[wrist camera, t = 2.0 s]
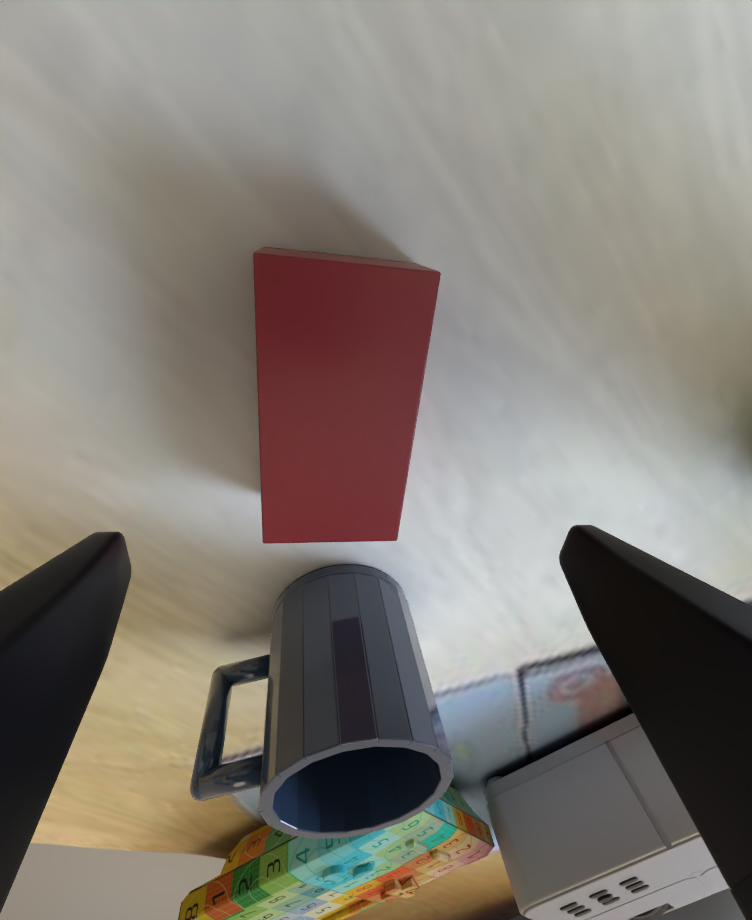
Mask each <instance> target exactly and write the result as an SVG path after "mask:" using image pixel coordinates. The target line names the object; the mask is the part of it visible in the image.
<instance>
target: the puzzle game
mask: <svg viewBox="0 0 752 920" xmlns="http://www.w3.org/2000/svg"><path fill="white" fill-rule="evenodd" d="M494 846H495V845H494V842H493V839H492V836H491V833H490V829H489V826H488V825H487V824H486V823H485V822H484V821H483V820H482V819H481V818H480V817H479V816H478V815H477V814H476V813H475V812H474V811H473V810H472V809H471V808H470V806H469V805H468V804H467V803H466V802H465V800H464V799H463V798H462V797H461V795H460V794H459V793H458V792H457V791H456V789H454V788H453V787H451V786H449V787H448V789H447V791H446V792H445V793H444V795H443V796H441V797H440V798H439V799H438V800H437V801H436V802H435V803H433V804H432V805H431V806H430V807H429V808H428V809H426V810H424V811H423V812H421V813H419V814H417V815H415V816H413V817H412V818H410V819H408V820H406V821H404V822H402V823H399V824H396V825H393V826H391V827H388V828H385V829H382V830H379V831H376V832H375V831H374V832H372V833H367V834H362V835H357V836H351V837H344V838H326V839H312V838H305V837H299V836H292V835H289V834H285V833H283V832H281V831H279V830H277V829H275V828H273V827H271V826H269V825H268V824H266V825H264V826H262V827H260V828H259V829H257V830H255V831H253V832H251V833H249V834H247V835H246V836H244V837H243V838H242V839H241V840H240V842H239V843H238V844H237V845H236V847H235V848H234V849H233V850H232V851H231V853H230V854H229V855H228V857H227V860H226V862H225V865H224V867H223V870H222V872H221V874H220V875H219V876H217V877H215V878H214V879H212V880H210V881H208V882H207V883H205V884H203V885H201V886H199V887H198V888H196V889H194V890H192V891H191V892H190V893H189V894H188V895H187V896H186V898H185V899H184V900H183V901H182V903H181V907H180V913H179V918H178V920H343V919H345V918H348V917H350V916H352V915H354V914H357V913H359V912H361V911H363V910H366V909H368V908H370V907H373V906H375V905H377V904H379V903H382V902H384V901H386V902H390V901H392V900H394V899H396V898H398V897H399V898H402V899H407V898H409V897H412V896H414V895H415V890H416V889H418V888H419V886H420V885H422V884H425V883H427V882H429V881H431V880H434V879H436V878H438V877H440V876H443V875H445V874H447V873H449V872H452V871H454V870H456V869H458V868H461V867H463V866H465V865H467V864H470V863H472V862H474V861H476V860H479V859H481V858H483V857H486V856H487V855H488V854H489V852H490V851H491V850H492V849H493V847H494Z"/></svg>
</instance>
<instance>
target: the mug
mask: <svg viewBox="0 0 752 920" xmlns="http://www.w3.org/2000/svg"><path fill="white" fill-rule="evenodd" d="M266 678H268V680H267V693H266V707H265V720H264V734H263V747H262V754H260V755H256V756H252V757H248V758H244V759H240V760H236V761H232V762H228V763H224V764H221V760H222V753H223V747H224V740H225V733H226V726H227V720H228V713H229V706H230V700H231V693H232V687H233V686H237V685H241V684H245V683H249V682H253V681H257V680H262V679H266ZM453 777H454V772H453V764H452V758H451V755H450V751H449V748H448V744H447V741H446V737H445V734H444V730H443V726H442V723H441V719H440V716H439V712H438V709H437V705H436V702H435V698H434V694H433V691H432V687H431V684H430V680H429V677H428V673H427V669H426V666H425V662H424V659H423V655H422V652H421V648H420V645H419V641H418V637H417V634H416V630H415V627H414V623H413V620H412V616H411V613H410V609H409V605H408V602H407V600H406V597H405V594H404V592H403V590H402V588H401V587H400V586H399V584H398V583H397V582H396V581H395V580H394V579H393V578H391V577H390V576H389V575H387V574H385V573H383V572H381V571H379V570H376V569H374V568H370V567H366V566H359V565H337V566H331V567H326V568H322V569H319V570H316V571H313V572H311V573H309V574H307V575H305V576H303V577H301V578H299V579H298V580H296V581H295V582H293V583H292V584H291V585H290V586H289V587H287V589H286V590H285V591H284V592H283V593H282V594H281V596H280V597H279V599H278V600H277V602H276V605H275V607H274V611H273V618H272V628H271V639H270V653H269V654H268V655H264V656H260V657H256V658H252V659H248V660H243V661H239V662H235V663H231V664H227V665H222V666H220V667H218V668H217V669H216V670H215V671H214V672H213V674H212V678H211V683H210V688H209V693H208V699H207V704H206V709H205V714H204V719H203V724H202V729H201V734H200V739H199V744H198V749H197V754H196V759H195V764H194V769H193V774H192V780H191V785H190V792H191V795H192V797H193V798H194V799H195V800H198V801H204V800H208V799H212V798H216V797H220V796H224V795H228V794H232V793H236V792H240V791H243V790H247V789H251V788H255V787H259V786H260V788H259V802H258V811H259V813H260V814H261V816H262V817H263V819H264V820H265V821H266V823H267V824H268V825H269V826H271V827H273V828H275V829H277V830H279V831H281V832H283V833H285V834H289V835H292V836H299V837H305V838H312V839H326V838H344V837H351V836H357V835H362V834H367V833H372V832H374V831H375V832H376V831H379V830H382V829H385V828H388V827H391V826H393V825H396V824H399V823H402V822H404V821H406V820H408V819H410V818H412V817H413V816H415V815H417V814H419V813H421V812H423V811H424V810H426V809H428V808H429V807H430V806H431V805H432V804H433V803H435V802H436V801H437V800H438V799H439V798H440V797H441V796H443V795H444V793H445V792H446V791H447V789H448V787H449V785H450V783H451V781H452V779H453Z"/></svg>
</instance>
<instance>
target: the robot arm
mask: <svg viewBox="0 0 752 920" xmlns="http://www.w3.org/2000/svg"><path fill="white" fill-rule="evenodd" d="M559 561H560V565H561V568H562V570H563V572H564V575H565V577H566V579H567V582H568V584H569V586H570V589H571V591H572V593H573V596H574V598H575V600H576V603H577V605H578V607H579V610H580V612H581V614H582V617H583V619H584V621H585V623H586V625H587V628H588V630H589V631H590V633H591V635H592V637H593V639H594V641H595V643H596V645H597V647H598V648H599V650H600V652H601V654H602V656H603V658H604V659H605V661H606V663H607V665H608V667H609V669H610V670H611V672H612V674H613V676H614V678H615V680H616V681H617V683H618V685H619V687H620V689H621V691H622V692H623V694H624V696H625V698H626V700H627V702H628V703H629V705H630V707H631V709H632V711H633V713H634V714H635V716H636V718H637V720H638V722H639V724H640V725H641V727H642V729H643V731H644V733H645V735H646V736H647V738H648V740H649V742H650V744H651V746H652V747H653V749H654V751H655V753H656V755H657V757H658V758H659V760H660V762H661V764H662V766H663V768H664V769H665V771H666V773H667V775H668V777H669V779H670V780H671V782H672V784H673V786H674V788H675V790H676V791H677V793H678V795H679V797H680V799H681V801H682V802H683V804H684V806H685V808H686V810H687V812H688V813H689V815H690V817H691V819H692V821H693V823H694V825H695V826H696V828H697V830H698V832H699V834H700V836H701V837H702V839H703V841H704V843H705V845H706V847H707V848H708V850H709V852H710V854H711V856H712V858H713V859H714V861H715V863H716V865H717V867H718V869H719V870H720V872H721V874H722V876H723V878H724V880H725V881H726V883H727V885H728V886H729V887H730V888H731V893H732V895H733V897H734V899H735V900H736V902H737V904H738V906H739V908H740V910H741V911H742V913H743V915H744V917H745V919H746V920H752V606H750V605H748V604H746V603H744V602H742V601H740V600H738V599H736V598H734V597H732V596H730V595H728V594H726V593H725V592H723V591H721V590H719V589H717V588H715V587H713V586H711V585H709V584H707V583H705V582H703V581H701V580H699V579H697V578H695V577H693V576H691V575H689V574H687V573H685V572H683V571H681V570H679V569H677V568H675V567H673V566H671V565H669V564H667V563H665V562H664V561H662V560H660V559H658V558H656V557H654V556H652V555H650V554H648V553H646V552H644V551H642V550H640V549H638V548H636V547H634V546H632V545H630V544H628V543H626V542H624V541H622V540H620V539H618V538H616V537H614V536H612V535H610V534H608V533H606V532H605V531H603V530H601V529H599V528H597V527H595V526H592V525H575V526H573V527H572V528H571V529H570V530H569V532H568V535H567V537H566V540H565V542H564V544H563V547H562V549H561V552H560V556H559ZM130 578H131V563H130V559H129V555H128V551H127V546H126V542H125V538H124V536H123V535H122V534H121V533H120V532H96V533H94V534H92V535H90V536H88V537H87V538H85V539H84V540H82V541H80V542H79V543H77V544H76V545H74V546H72V547H71V548H69V549H67V550H66V551H64V552H63V553H61V554H59V555H58V556H56V557H55V558H53V559H51V560H50V561H48V562H47V563H45V564H43V565H42V566H40V567H39V568H37V569H35V570H34V571H32V572H30V573H29V574H27V575H26V576H24V577H22V578H21V579H19V580H18V581H16V582H14V583H13V584H11V585H10V586H8V587H6V588H5V589H3V590H2V591H0V912H1V910H2V908H3V906H4V903H5V901H6V899H7V896H8V894H9V891H10V889H11V887H12V884H13V882H14V879H15V877H16V875H17V872H18V870H19V867H20V865H21V863H22V860H23V858H24V855H25V853H26V851H27V849H28V846H29V844H30V841H31V839H32V837H33V834H34V832H35V830H36V827H37V825H38V822H39V820H40V818H41V815H42V813H43V810H44V808H45V806H46V803H47V801H48V799H49V796H50V794H51V791H52V789H53V787H54V784H55V782H56V780H57V777H58V775H59V772H60V770H61V768H62V765H63V763H64V761H65V758H66V756H67V753H68V751H69V749H70V746H71V744H72V741H73V739H74V737H75V734H76V732H77V730H78V727H79V725H80V722H81V720H82V718H83V715H84V713H85V711H86V708H87V706H88V703H89V701H90V699H91V696H92V694H93V692H94V689H95V687H96V684H97V682H98V680H99V677H100V675H101V672H102V670H103V667H104V665H105V662H106V660H107V657H108V653H109V650H110V647H111V644H112V641H113V637H114V634H115V630H116V627H117V623H118V620H119V617H120V613H121V610H122V606H123V603H124V599H125V596H126V593H127V589H128V586H129V582H130Z"/></svg>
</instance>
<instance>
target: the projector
mask: <svg viewBox="0 0 752 920" xmlns="http://www.w3.org/2000/svg"><path fill="white" fill-rule="evenodd" d="M487 785H488V786H487V787H486V788H485V790H484V794H485V797H486V801H487V811H488V814H489V817H490V820H491V823H492V827H493V830H494V833H495V836H496V839H497V842H498V845H499V849H500V852H501V855H502V858H503V861H504V864H505V868H506V871H507V874H508V877H509V880H510V883H511V886H512V890H513V893H514V896H515V899H516V902H517V905H518V908H519V912H520V913H521V914H522V915H524V916H525V917H527V918H530V919H532V920H654V919H656V918H658V917H660V916H661V915H663V914H664V913H667V912H669V911H672V910H674V909H677V908H679V907H682V906H684V905H687V904H689V903H692V902H694V901H697V900H700V899H702V898H704V897H707V896H709V895H712V894H713V893H716V892H720V891H722V890H725V889H727V888H730V887H729V886H728V885H727V883H726V881H725V880H724V878H723V876H722V874H721V872H720V870H719V869H718V867H717V865H716V863H715V861H714V859H713V858H712V856H711V854H710V852H709V850H708V848H707V847H706V845H705V843H704V841H703V839H702V837H701V836H700V834H699V832H698V830H697V828H696V826H695V825H694V823H693V821H692V819H691V817H690V815H689V813H688V812H687V810H686V808H685V806H684V804H683V802H682V801H681V799H680V797H679V795H678V793H677V791H676V790H675V788H674V786H673V784H672V782H671V780H670V779H669V777H668V775H667V773H666V771H665V769H664V768H663V766H662V764H661V762H660V760H659V758H658V757H657V755H656V753H655V751H654V749H653V747H652V746H651V744H650V742H649V740H648V738H647V736H646V735H645V733H644V731H643V729H642V727H641V725H640V724H639V722H638V720H637V718H636V716H635V714H634V713H632V714H630V715H628V716H626V717H624V718H622V719H620V720H618V721H616V722H614V723H612V724H610V725H608V726H606V727H604V728H602V729H600V730H598V731H596V732H594V733H592V734H590V735H588V736H586V737H583V738H581V739H579V740H577V741H575V742H573V743H571V744H569V745H567V746H565V747H563V748H561V749H559V750H557V751H555V752H553V753H551V754H549V755H547V756H545V757H543V758H541V759H539V760H537V761H535V762H533V763H531V764H529V765H527V766H525V767H523V768H521V769H519V770H517V771H515V772H513V773H511V774H509V775H507V776H505V777H502V776H495V777H492V778H490V779H489V780H488V782H487Z"/></svg>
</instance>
